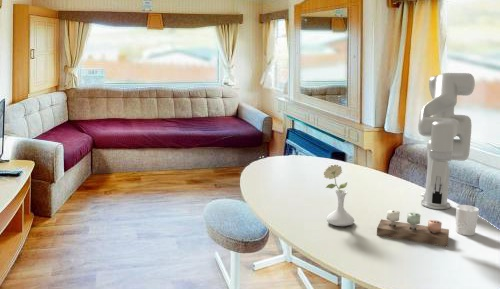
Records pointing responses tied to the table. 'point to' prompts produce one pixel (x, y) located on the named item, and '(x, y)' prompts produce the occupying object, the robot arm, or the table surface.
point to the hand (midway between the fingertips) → (436, 202)
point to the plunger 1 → (393, 216)
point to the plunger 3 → (434, 226)
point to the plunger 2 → (413, 219)
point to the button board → (412, 233)
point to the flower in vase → (339, 215)
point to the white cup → (466, 219)
